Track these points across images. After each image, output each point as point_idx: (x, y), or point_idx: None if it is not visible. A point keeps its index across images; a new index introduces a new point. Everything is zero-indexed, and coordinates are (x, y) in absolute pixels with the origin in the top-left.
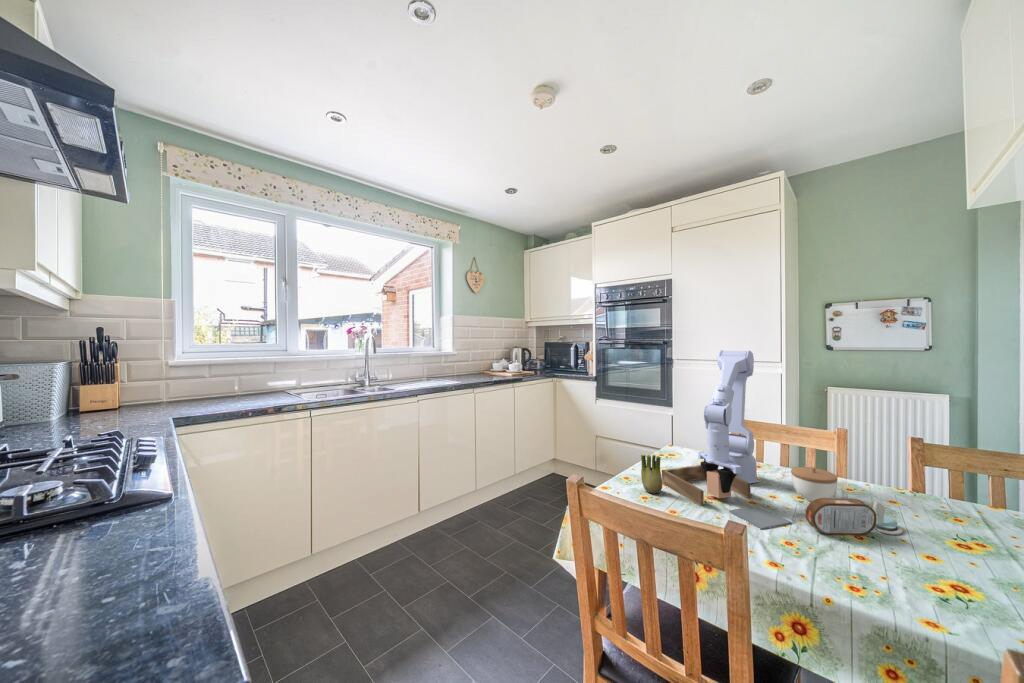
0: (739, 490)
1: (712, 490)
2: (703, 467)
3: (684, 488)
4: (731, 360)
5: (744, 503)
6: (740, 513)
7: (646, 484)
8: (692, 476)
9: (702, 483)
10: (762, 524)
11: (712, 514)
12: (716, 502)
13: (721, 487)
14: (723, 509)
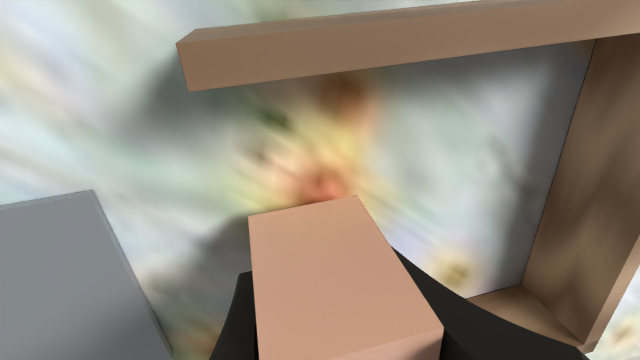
0: None
1: (313, 224)
2: (514, 338)
3: (426, 10)
4: None
5: (218, 317)
6: (36, 240)
7: None
8: (562, 226)
9: (490, 241)
10: None
11: (22, 28)
12: (252, 187)
13: (252, 295)
14: (135, 173)
